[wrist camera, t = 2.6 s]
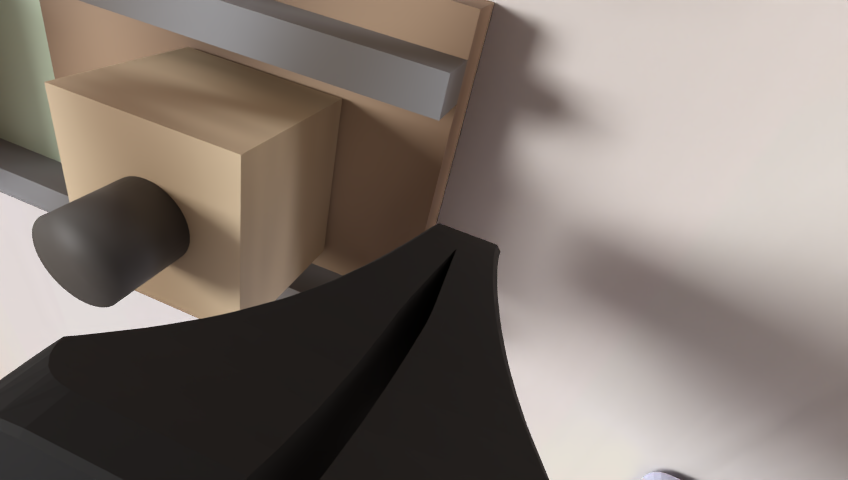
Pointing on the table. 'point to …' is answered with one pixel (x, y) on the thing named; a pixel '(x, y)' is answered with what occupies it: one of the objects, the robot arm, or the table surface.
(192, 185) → the slider
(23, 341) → the table surface
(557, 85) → the table surface
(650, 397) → the table surface
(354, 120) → the track
